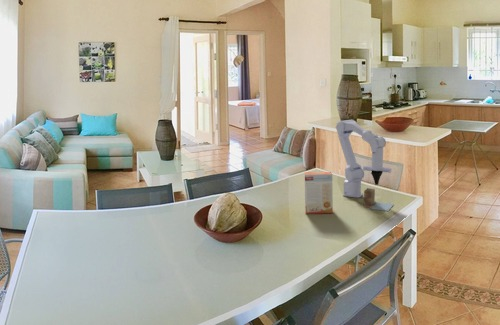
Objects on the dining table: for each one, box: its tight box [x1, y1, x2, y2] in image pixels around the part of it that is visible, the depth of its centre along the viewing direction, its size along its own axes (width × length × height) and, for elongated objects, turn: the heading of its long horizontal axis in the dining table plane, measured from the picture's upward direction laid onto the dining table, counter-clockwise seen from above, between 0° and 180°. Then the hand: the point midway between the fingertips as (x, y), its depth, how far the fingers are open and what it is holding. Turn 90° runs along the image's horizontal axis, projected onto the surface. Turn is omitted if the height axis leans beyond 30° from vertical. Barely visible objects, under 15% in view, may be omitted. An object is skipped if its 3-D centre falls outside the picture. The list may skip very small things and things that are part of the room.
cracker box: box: [304, 171, 334, 214], centre depth 224 cm, size 14×6×21 cm, turn 84°
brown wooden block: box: [363, 187, 376, 208], centre depth 232 cm, size 4×6×8 cm, turn 149°
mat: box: [370, 201, 395, 212], centre depth 230 cm, size 9×12×1 cm
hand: (376, 184), depth 235 cm, fingers closed
